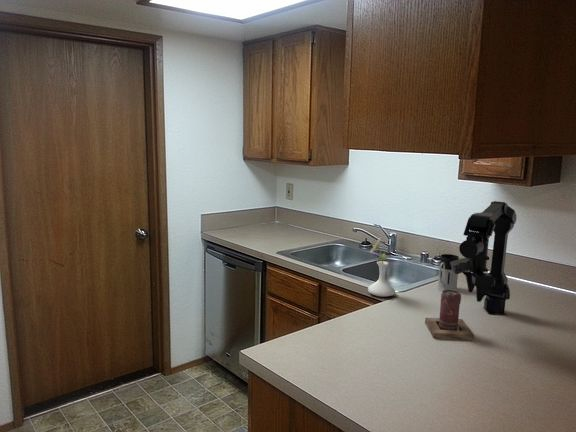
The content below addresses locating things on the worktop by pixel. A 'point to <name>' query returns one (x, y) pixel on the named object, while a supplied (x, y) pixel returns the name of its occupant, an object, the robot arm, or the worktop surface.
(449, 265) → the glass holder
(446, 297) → the can
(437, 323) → the socket block
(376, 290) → the flower in vase
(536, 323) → the worktop surface
